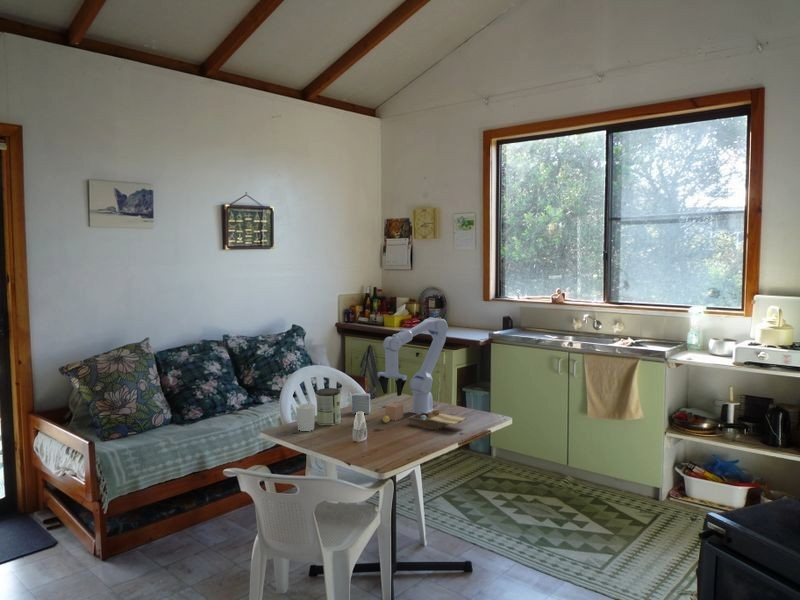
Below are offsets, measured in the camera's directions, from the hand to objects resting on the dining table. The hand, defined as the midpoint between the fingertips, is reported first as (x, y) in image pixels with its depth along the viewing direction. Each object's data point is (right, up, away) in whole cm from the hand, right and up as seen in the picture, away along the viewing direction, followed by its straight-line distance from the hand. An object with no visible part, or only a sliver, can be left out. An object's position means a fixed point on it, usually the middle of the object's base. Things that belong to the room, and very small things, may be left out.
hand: (392, 394), depth 274 cm
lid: (+23, -8, -16) cm, 29 cm away
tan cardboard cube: (+1, -11, -1) cm, 11 cm away
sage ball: (+14, -11, -12) cm, 22 cm away
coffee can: (-27, -12, -6) cm, 30 cm away
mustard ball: (-3, -11, -7) cm, 13 cm away
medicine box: (-14, -10, +9) cm, 20 cm away
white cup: (-36, -13, -16) cm, 41 cm away
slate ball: (+14, -11, -7) cm, 19 cm away
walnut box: (+16, -11, -11) cm, 22 cm away
